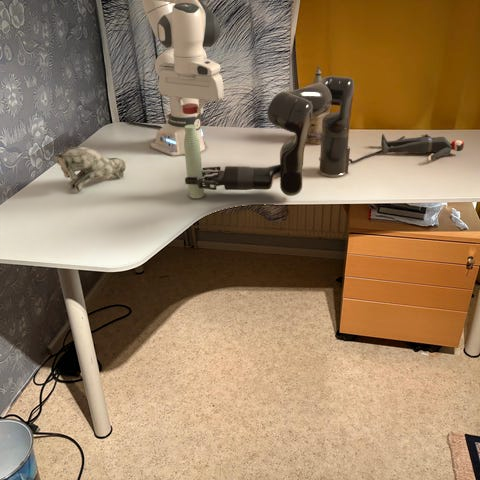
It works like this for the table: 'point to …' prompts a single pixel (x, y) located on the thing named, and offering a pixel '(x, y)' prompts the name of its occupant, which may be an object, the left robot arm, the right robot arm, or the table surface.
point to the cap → (190, 108)
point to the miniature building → (316, 118)
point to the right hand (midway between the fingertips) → (186, 177)
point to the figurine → (88, 166)
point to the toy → (421, 145)
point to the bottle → (193, 159)
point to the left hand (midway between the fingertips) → (191, 112)
